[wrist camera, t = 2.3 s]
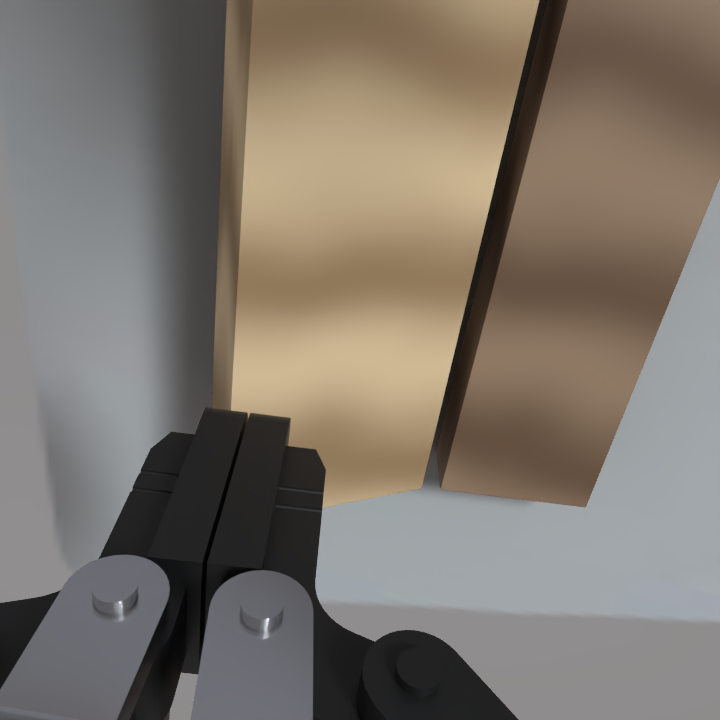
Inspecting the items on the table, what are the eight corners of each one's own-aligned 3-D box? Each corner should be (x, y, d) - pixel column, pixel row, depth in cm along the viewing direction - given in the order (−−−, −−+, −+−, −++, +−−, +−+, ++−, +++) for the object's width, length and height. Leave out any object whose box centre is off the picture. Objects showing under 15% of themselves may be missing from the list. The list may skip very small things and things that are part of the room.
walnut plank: (571, -96, 20) (595, -104, 17) (770, -62, 20) (818, -66, 18) (436, 451, 30) (440, 489, 27) (570, 468, 30) (585, 507, 28)
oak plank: (233, -173, 16) (262, -183, 14) (512, -108, 19) (565, -109, 17) (209, 483, 26) (224, 526, 24) (395, 451, 29) (421, 488, 27)
